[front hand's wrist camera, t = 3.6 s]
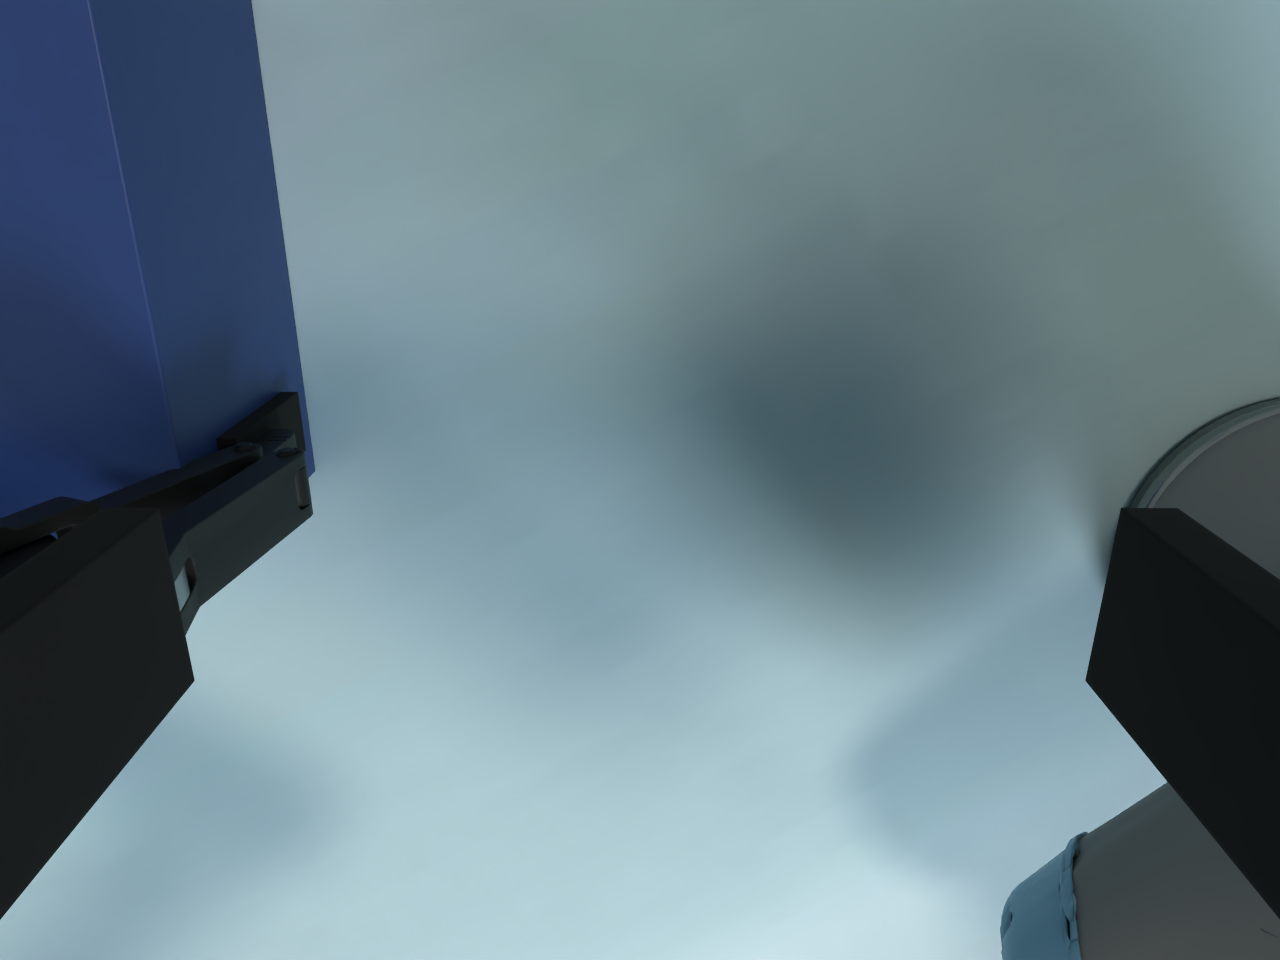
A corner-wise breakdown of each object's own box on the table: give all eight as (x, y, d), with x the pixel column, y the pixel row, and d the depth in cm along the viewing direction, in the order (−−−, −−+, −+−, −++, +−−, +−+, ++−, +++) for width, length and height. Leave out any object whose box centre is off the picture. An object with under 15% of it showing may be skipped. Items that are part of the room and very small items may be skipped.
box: (64, -13, 36) (-196, -79, 25) (250, -13, 36) (74, -79, 25) (161, 471, 44) (-5, 588, 33) (316, 471, 44) (203, 588, 33)
